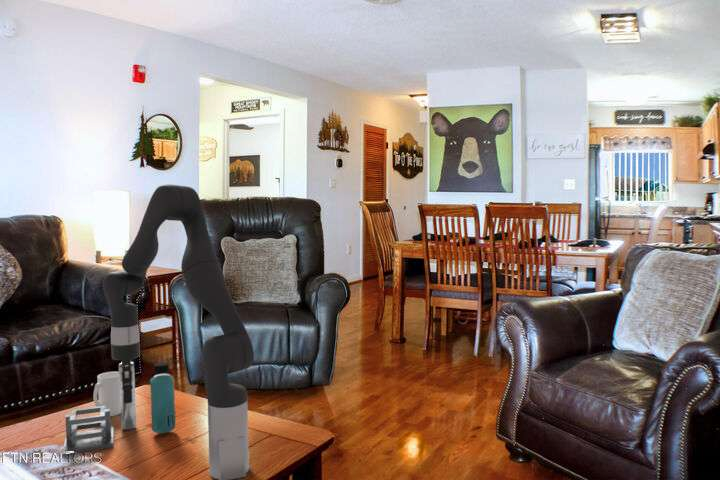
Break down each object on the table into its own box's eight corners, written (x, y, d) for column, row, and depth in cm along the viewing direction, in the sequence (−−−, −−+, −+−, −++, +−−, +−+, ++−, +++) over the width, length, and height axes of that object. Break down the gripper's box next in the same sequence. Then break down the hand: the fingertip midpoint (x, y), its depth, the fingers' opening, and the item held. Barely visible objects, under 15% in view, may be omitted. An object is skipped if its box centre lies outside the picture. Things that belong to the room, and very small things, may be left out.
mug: (109, 408, 184) (108, 370, 183) (127, 410, 181) (126, 372, 181) (85, 419, 174) (83, 380, 173) (104, 422, 172) (102, 382, 171)
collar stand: (113, 447, 154) (112, 417, 154) (62, 455, 150) (61, 424, 149) (113, 430, 166) (112, 402, 165) (66, 437, 161) (65, 408, 160)
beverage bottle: (168, 439, 159) (166, 367, 158) (146, 437, 161) (144, 366, 159) (180, 430, 166) (178, 360, 164) (159, 428, 167) (156, 359, 165)
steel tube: (136, 428, 166) (134, 365, 165) (121, 430, 164) (118, 367, 163) (136, 423, 170) (133, 362, 168) (121, 425, 168) (118, 363, 167)
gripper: (140, 345, 160) (142, 406, 161) (138, 334, 173) (141, 391, 174) (110, 348, 157) (113, 410, 158) (111, 336, 170) (113, 394, 172)
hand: (127, 399), depth 166 cm, fingers closed on steel tube, 4 cm apart
